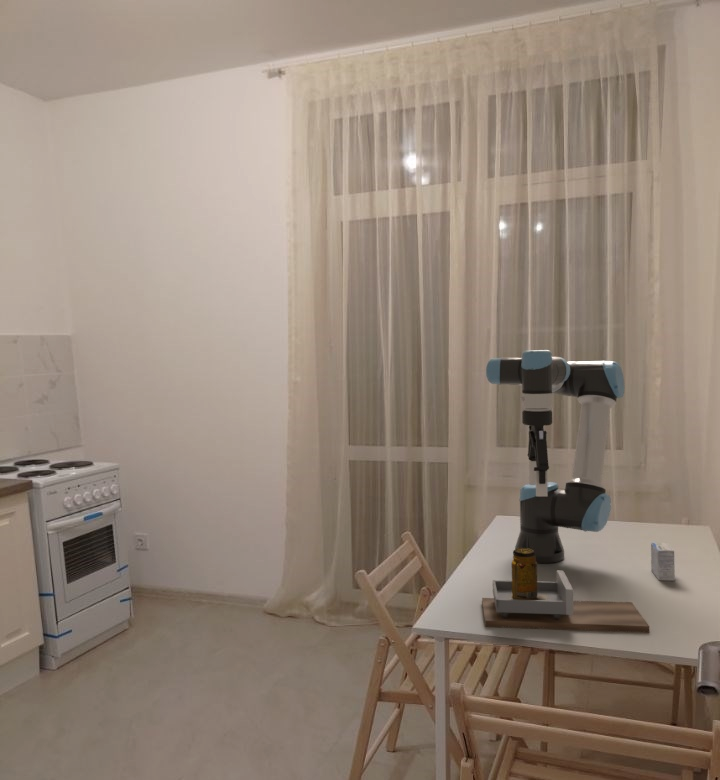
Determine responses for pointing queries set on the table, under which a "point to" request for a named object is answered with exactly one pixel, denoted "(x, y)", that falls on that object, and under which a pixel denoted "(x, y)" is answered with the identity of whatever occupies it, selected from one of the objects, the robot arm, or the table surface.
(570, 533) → the table surface
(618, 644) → the table surface
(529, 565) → the condiment
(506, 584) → the cart
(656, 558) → the medicine box
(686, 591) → the table surface
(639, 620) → the rail board
